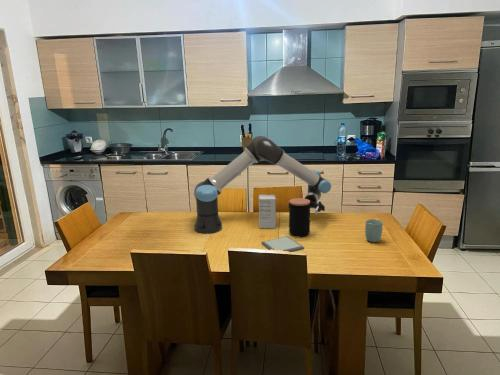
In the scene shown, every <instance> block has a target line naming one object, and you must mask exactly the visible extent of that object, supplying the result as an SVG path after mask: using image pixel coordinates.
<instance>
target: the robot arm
mask: <svg viewBox="0 0 500 375" xmlns="http://www.w3.org/2000/svg"><path fill="white" fill-rule="evenodd" d="M262 160H263V161H267V162H269V163H271V164H273V165H274V166H279V167H280V168H282V169H284V170H286V171H287V172H288V173H290V174H291V175H293V176H295V177H296V178H298V179H300V180H301V181H302V182H305V183H306V184H307V194H306V196H304V199H308V200H310V204H309V205H310V209H315V213H314V214H315V216H317V215H318V213H320V212H321V211H322V212H325V209H326V206H325V204H323V203H322V202H321V201H319V200H320V199H321V196H322V194H328V193H329V192H330V191H331V189H332V183H331V182H330V181H329V180H328V179H326V178H324V177H322V175H321V174H322V173H321V171H320V170H316V169H315V170H313V169H310V168H308V167H307V166H306V165H304V164H302V163H301V162H299V161H298V160H296V159H295V158H293V157H292V156H290V155H289V154H287V153H286V152H285V150H284V149H282V147H279V146H278V145H277V144H276V143H275V142H274V141H273V140H271V139H270V138H268V137H266V136H264V135H263V136H262V135H257V136H255V137H253V138H252V139H251V140H250V142H249V144H246V146H245V147H244V151H243V152H242V153H240V154H239V155H238V156H236V157H235V158H234V159H232V161H230V162H229V163H228V164H227V165H226V166H224V167H223V168H222V169H221V170H219V171H218V172H217V173H216V174H215V175H213V177H207V178H206V179H205V180H203V181H200V182H198V183H197V185H195V188H194V190H193V194H194V198H195V203H196V205H195V206H196V218H195V222H194V231H195V232H197V233H200V234H214V233H216V232H217V233H218V232H220V231H221V230H222V229H223V223H222V221H221V218H220V215H219V199H218V198H219V197H218V196H220V195H221V194H222V190H223V189H224V188H225V187H227V186H228V184H230V183H231V182H233V181H234V180H235V179H236V178H237V177H238V176H240V175H241V174H242V173H243V172H245V171H246V170H247V169H248V168H249V167H251V166H252V165H253V164H258V163H260V162H261V161H262ZM289 205H290V203H288V206H289Z"/></svg>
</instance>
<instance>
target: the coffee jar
mask: <svg viewBox="0 0 500 375" xmlns="http://www.w3.org/2000/svg"><path fill="white" fill-rule="evenodd" d="M304 198H305V197H304ZM304 198H303V197H296V198H295V197H294V198H291V199H289V203H290V205H289V203H288V208H289V209H288V211H289V212H288V225H289V226H288V232H289V234H290V235H291V236H293V237H295V238H304V237H307V236H308V235H309V234H310V232H311V231H310V230H311V228H310V227H311V208H310V205H309V204H310V200H308V199H304Z"/></svg>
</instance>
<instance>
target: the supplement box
mask: <svg viewBox="0 0 500 375" xmlns="http://www.w3.org/2000/svg"><path fill="white" fill-rule="evenodd" d="M276 200H277V199H276V195H275V194H258V227H259V229H276V228H277V226H276V224H277V223H276V222H277V217H276V216H277V214H276V212H277V209H276V208H277V206H276V205H277V204H276V203H277V201H276Z"/></svg>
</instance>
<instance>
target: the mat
mask: <svg viewBox="0 0 500 375" xmlns="http://www.w3.org/2000/svg"><path fill="white" fill-rule="evenodd" d="M261 245H262V246H264V247H265V248H266V249H267V250H269V249H273V250H283V251H290V252H289V253H292V252H297V251H301V250H304V249H305V247H304V246H303V245H301V244H300V243H299V242H297V241H296V240H295V239H292V238H291V237H289V236H284V237H283V236H282V237H279V238H274V239H269V240H265V241H261Z"/></svg>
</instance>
